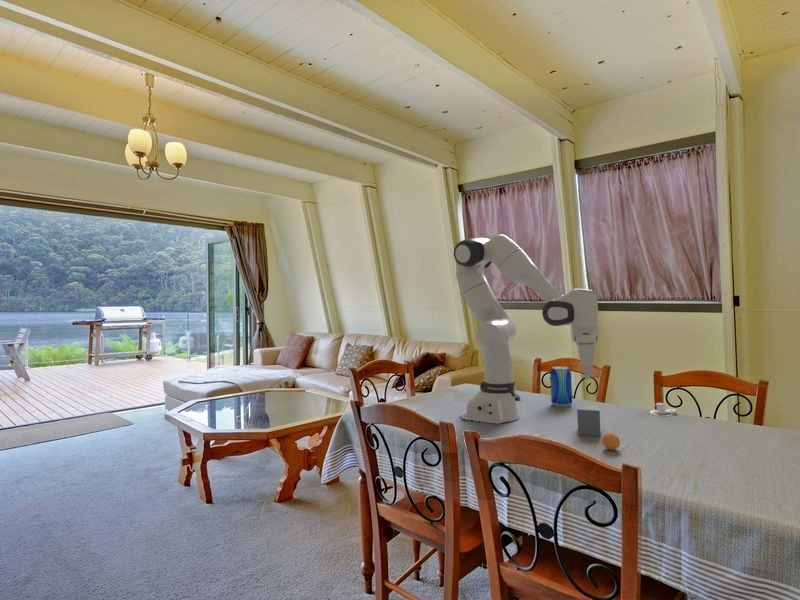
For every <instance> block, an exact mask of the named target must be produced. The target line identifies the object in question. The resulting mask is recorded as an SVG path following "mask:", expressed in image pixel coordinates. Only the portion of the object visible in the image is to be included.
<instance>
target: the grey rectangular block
mask: <svg viewBox="0 0 800 600" xmlns="http://www.w3.org/2000/svg"><path fill="white" fill-rule="evenodd" d="M600 410H601V409H600V405H597V404H596V405H595V404H576V413H577V416H576V417H577V434H578V435H579V436H591V437H592V436H593V437H594V436H595V437H601V416H600V415H601V413H600Z"/></svg>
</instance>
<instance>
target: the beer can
mask: <svg viewBox="0 0 800 600" xmlns="http://www.w3.org/2000/svg"><path fill="white" fill-rule="evenodd" d="M549 375H550V376H549V378H550V402H551V403H552V404H553V406H555V407H558V408H568V407H571V406H572V404H573V392H572V391H573V388H572V386H573V385H572V384H573V383H572V372H571V370H570V367H568V366H564V365H562V366H561V365H559V366H558V365H557V366H552V368H551V371H550V374H549Z"/></svg>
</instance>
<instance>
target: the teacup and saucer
mask: <svg viewBox="0 0 800 600" xmlns="http://www.w3.org/2000/svg"><path fill="white" fill-rule="evenodd" d="M655 406H656V409H655ZM666 406H667V405H666V403H665V402H657V403H656V404H655V403H654V404H653V405H652V408H653V410H650V411H649V413H650V414H651V415H654V416H658V417H659V416H660V417H670V416H674V415H675V414H677V410H676V409H675V408H669V409H668V408H667V407H666ZM655 412H657V413H658V414H657V413H655ZM669 413H673V414H671V415H670V414H669ZM665 414H666V415H665Z"/></svg>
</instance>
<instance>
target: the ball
mask: <svg viewBox="0 0 800 600" xmlns="http://www.w3.org/2000/svg"><path fill="white" fill-rule="evenodd" d="M601 443H602V445H603V446H604V447H605V449H607V450H611V451H615V450H617V449H618V448H619V447H620V445H621V440H620V437H619V436H618V435H617V434H615V433H613V432H606V433H605V434H604V435H603V436H602V438H601Z"/></svg>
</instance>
